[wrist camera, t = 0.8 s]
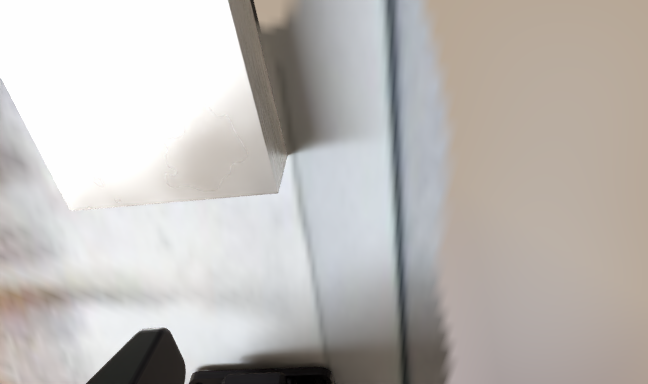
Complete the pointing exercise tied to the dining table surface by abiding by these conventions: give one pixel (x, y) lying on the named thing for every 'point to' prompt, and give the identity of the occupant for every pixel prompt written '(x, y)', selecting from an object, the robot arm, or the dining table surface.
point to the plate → (144, 98)
